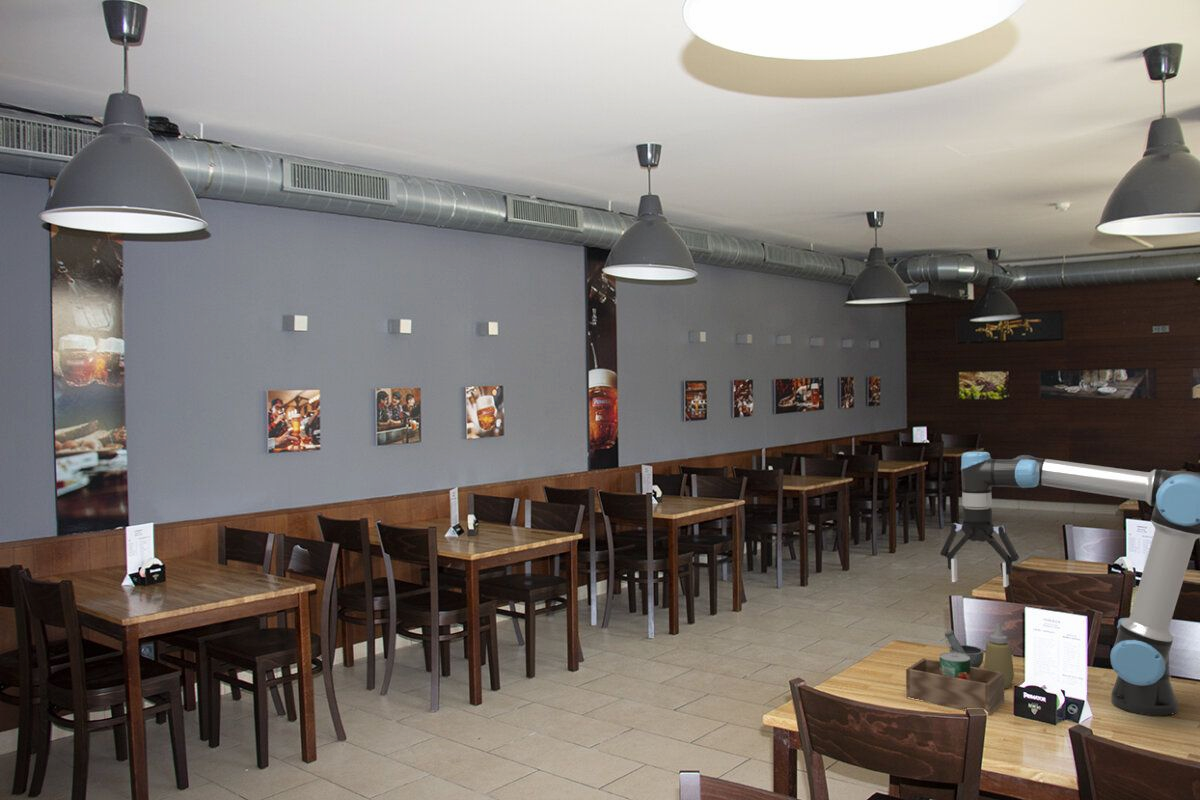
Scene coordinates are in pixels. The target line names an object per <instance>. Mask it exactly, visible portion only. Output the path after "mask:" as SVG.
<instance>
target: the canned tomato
mask: <svg viewBox="0 0 1200 800" xmlns="http://www.w3.org/2000/svg"><path fill="white" fill-rule="evenodd" d="M939 661H940V675H944V676H949V677H955V678H960V679H965V680H970V657H969V656H967V655H965V654H961V653H954V652H950V651H949V652H942V653H940V654H939Z"/></svg>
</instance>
